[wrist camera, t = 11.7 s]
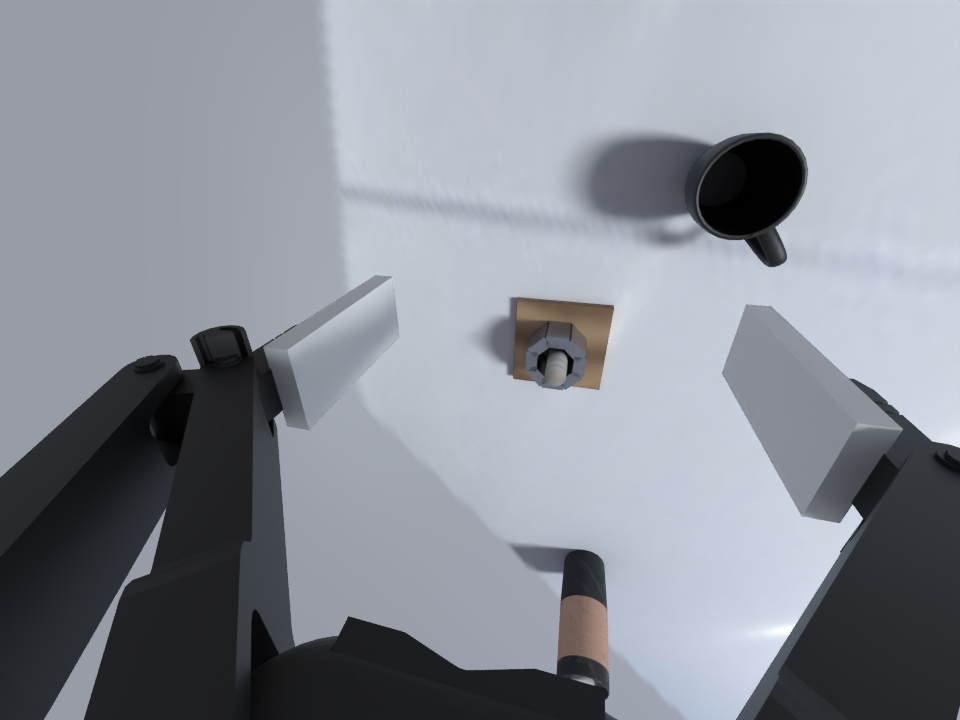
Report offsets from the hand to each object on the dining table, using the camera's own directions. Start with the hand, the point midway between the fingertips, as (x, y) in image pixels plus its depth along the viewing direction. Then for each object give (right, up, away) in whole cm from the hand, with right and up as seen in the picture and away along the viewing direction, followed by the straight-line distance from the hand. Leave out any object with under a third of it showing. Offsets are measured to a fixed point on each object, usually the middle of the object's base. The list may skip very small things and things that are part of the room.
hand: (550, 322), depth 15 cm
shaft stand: (+8, +1, +38) cm, 39 cm away
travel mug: (+17, -39, +59) cm, 73 cm away
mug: (+23, +16, +26) cm, 38 cm away
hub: (+8, 0, +37) cm, 38 cm away
